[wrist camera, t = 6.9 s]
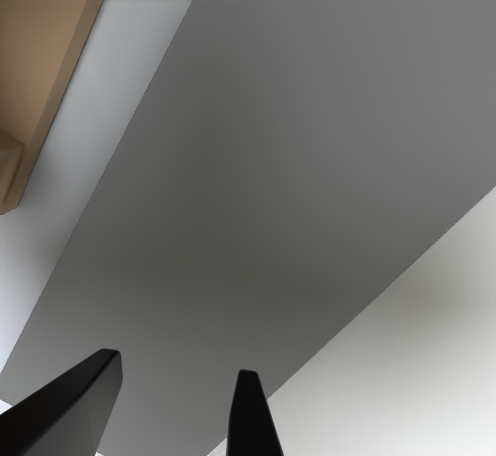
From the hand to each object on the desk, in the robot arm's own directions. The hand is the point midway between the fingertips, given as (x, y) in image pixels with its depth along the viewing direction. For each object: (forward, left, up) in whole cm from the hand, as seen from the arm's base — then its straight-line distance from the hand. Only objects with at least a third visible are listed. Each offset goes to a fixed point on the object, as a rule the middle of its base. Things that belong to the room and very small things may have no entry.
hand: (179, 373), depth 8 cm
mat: (0, 0, -6) cm, 6 cm away
